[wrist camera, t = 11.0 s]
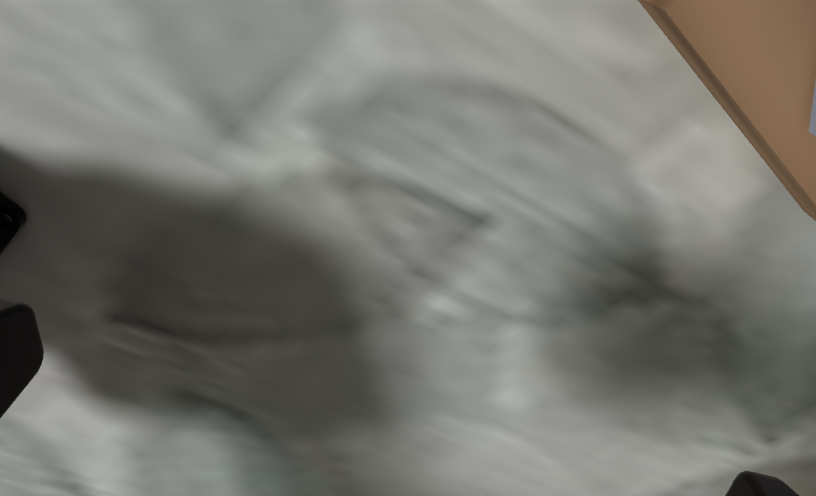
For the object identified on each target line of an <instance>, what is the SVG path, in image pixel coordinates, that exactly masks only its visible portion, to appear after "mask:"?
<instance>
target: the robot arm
mask: <svg viewBox="0 0 816 496" xmlns="http://www.w3.org/2000/svg"><path fill="white" fill-rule="evenodd" d="M3 214H5V215H7V216H9V218H10V219H11V221H12V222H9V221H7V220H6V219H5V218H4V217H3ZM26 221H27V218H26V214H25V212H24V210H23V209H22V208H21V207H20V206H19V205H17V204H16V203H15V202H13V201H12V200H10V199H9V198H7V197H6V196H5V195H3V194H2V193H0V257H1V255H2V254H3V253H4V251H5V250H6V249H7V248H8V246H9V245H10V244H11V242H12V241H13V240H14V239H15V237H16V236H17V235H18V233H19V232H20V231H21V230H22V228H23V227H24V226H25V224H26ZM43 354H44V351H43V346H42V342H41V338H40V334H39V330H38V326H37V322H36V318H35V314H34V311H33V310H32V308H31V307H30V306H29V305H27V304H25V303H21V302H17V301H12V300H8V299H3V298H0V418H1V417H2V416H3V414H4V413H5V412H6V411H7V409H8V408H9V407H10V406H11V404H12V403H13V402H14V401H15V400H16V398H17V397H18V396H19V395H20V393H21V392H22V391H23V390H24V388H25V387H26V386H27V385H28V383H29V382H30V381H31V380H32V378H33V377H34V376H35V375H36V373H37V372H38V370H39V368H40V366H41V364H42V360H43ZM725 496H799V495H798V494H797V493H796V492H794V491H793V490H792V489H791V488H790V487H789V486H788V485H786V484H785V483H784V482H783V481H781V480H780V479H778V478H776V477H772V476H768V475H763V474H759V473H755V472H750V471H744V472H741V473H740V474H738V475H737V477H736V478H735V480H734V481H733V483H732V485H731V487H730V488H729V490H728V492H727V494H726V495H725Z"/></svg>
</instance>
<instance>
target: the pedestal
mask: <svg viewBox="0 0 816 496" xmlns="http://www.w3.org/2000/svg"><path fill="white" fill-rule="evenodd" d="M638 1H639V2H640V3H641V5H642V6H643V7H644V8H645V10H646V11H647V12H648V14H649V15H650V16H651V17H652V19H653V20H654V21H655V22H656V24H657V25H658V26H659V27H660V29H661V30H662V31H663V33H664V34H665V35H666V36H667V38H668V39H669V40H670V41H671V43H672V44H673V45H674V47H675V48H676V49H677V50H678V52H679V53H680V54H681V55H682V57H683V58H684V59H685V61H686V62H687V63H688V64H689V66H690V67H691V68H692V69H693V71H694V72H695V73H696V75H697V76H698V77H699V78H700V80H701V81H702V82H703V83H704V85H705V86H706V87H707V89H708V90H709V91H710V92H711V94H712V95H713V96H714V97H715V99H716V100H717V101H718V103H719V104H720V105H721V106H722V108H723V109H724V110H725V111H726V113H727V114H728V115H729V116H730V118H731V119H732V120H733V122H734V123H735V124H736V125H737V127H738V128H739V129H740V130H741V132H742V133H743V134H744V136H745V137H746V138H747V139H748V141H749V142H750V143H751V144H752V146H753V147H754V148H755V150H756V151H757V152H758V153H759V155H760V156H761V157H762V158H763V160H764V161H765V162H766V164H767V165H768V166H769V167H770V169H771V170H772V171H773V172H774V174H775V175H776V176H777V178H778V179H779V180H780V181H781V183H782V184H783V185H784V186H785V188H786V189H787V190H788V192H789V193H790V194H791V195H792V197H793V198H794V199H795V200H796V202H797V203H798V204H799V205H800V207H801V208H802V209H803V211H804V212H806V213H807V214H808V215H809V216H810V217H812V218H813V219H814V220H815V221H816V136H815V135H813V134H811V133H809V125H810V118H811V110H812V103H813V96H814V88H815V81H816V0H638Z"/></svg>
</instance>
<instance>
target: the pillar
mask: <svg viewBox="0 0 816 496" xmlns="http://www.w3.org/2000/svg"><path fill="white" fill-rule="evenodd" d="M809 133H811V134H813V135H815V136H816V81H815V88H814V96H813V103H812V110H811V118H810V125H809Z"/></svg>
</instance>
